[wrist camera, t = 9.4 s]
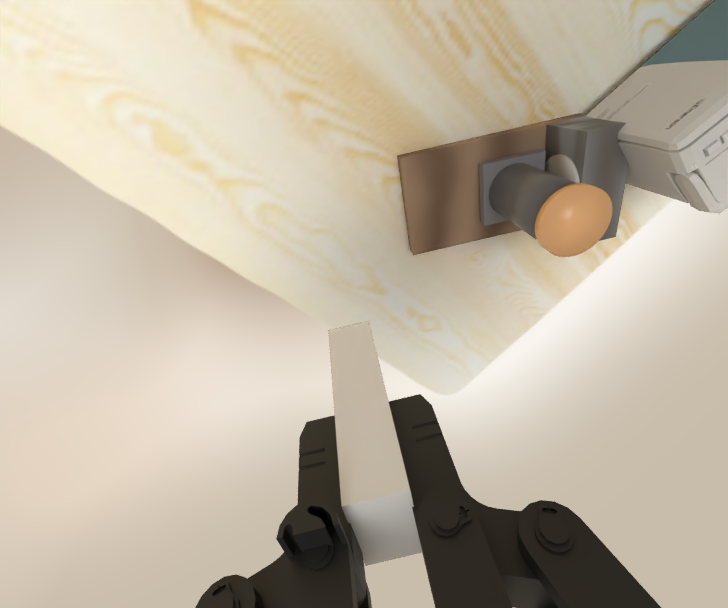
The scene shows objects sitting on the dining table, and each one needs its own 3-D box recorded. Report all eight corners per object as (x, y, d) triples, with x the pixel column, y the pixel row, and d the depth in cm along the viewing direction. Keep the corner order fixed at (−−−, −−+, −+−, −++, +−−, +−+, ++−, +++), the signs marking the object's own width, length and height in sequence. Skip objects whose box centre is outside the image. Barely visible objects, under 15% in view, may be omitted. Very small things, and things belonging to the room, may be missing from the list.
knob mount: (410, 249, 41) (428, 280, 35) (397, 155, 36) (416, 171, 29) (568, 212, 41) (615, 236, 35) (578, 113, 36) (636, 120, 30)
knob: (480, 222, 39) (535, 268, 29) (479, 163, 35) (540, 192, 26) (536, 209, 39) (609, 250, 29) (540, 149, 35) (623, 173, 26)
